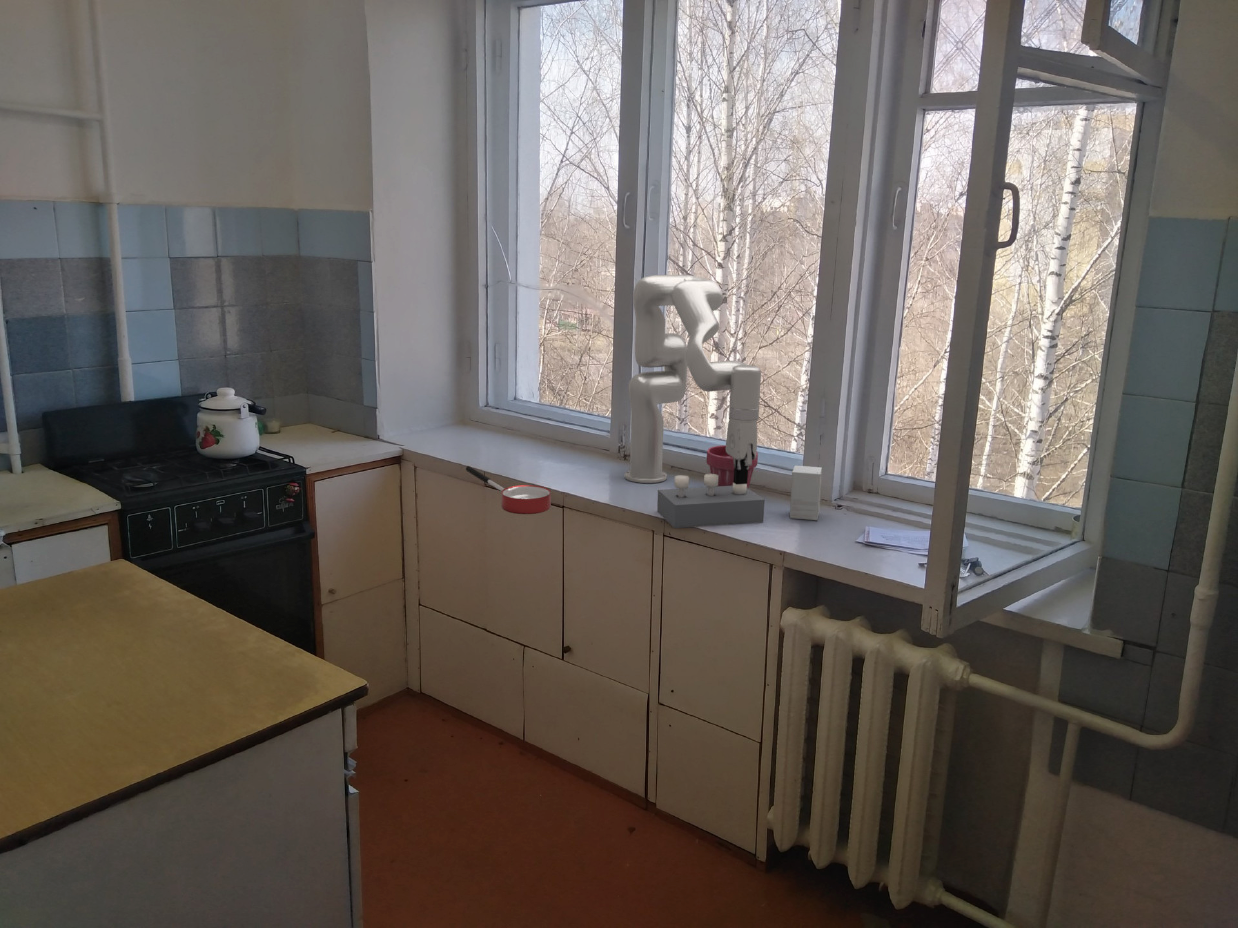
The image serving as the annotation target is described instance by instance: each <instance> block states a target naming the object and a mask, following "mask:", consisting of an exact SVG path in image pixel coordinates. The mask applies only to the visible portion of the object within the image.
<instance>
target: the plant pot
mask: <svg viewBox="0 0 1238 928" xmlns="http://www.w3.org/2000/svg"><path fill="white" fill-rule="evenodd" d="M758 457H759V453H758V451H757V453H756V458H755V459H754V460H752V465H751V466H749V469H748V478H747V488H748V489H750V484H751V481H752V476H753V472H754V470H755V468H756V467H757V466H758ZM705 462H706V464H707V465H708V467H709V471H710V473H709V474H716V475H718V486H733V481H734V459H733V457H732V456H730V455H729V454H727V452H726V444H725V445H715V446H711V447H708V449H707V450H706V461H705ZM718 486H716V487H718Z"/></svg>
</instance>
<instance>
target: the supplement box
mask: <svg viewBox="0 0 1238 928" xmlns="http://www.w3.org/2000/svg"><path fill="white" fill-rule="evenodd" d="M822 469H823V468H822V467H821V466H820V467H817V466H808V465H807V466H806V465H794V467H793V469H792V471H791V488H790V505H789V519H798V520H809V521H818V519H819V514H820V508H821V507H820V505H821V487H822V473H823V470H822Z"/></svg>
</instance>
